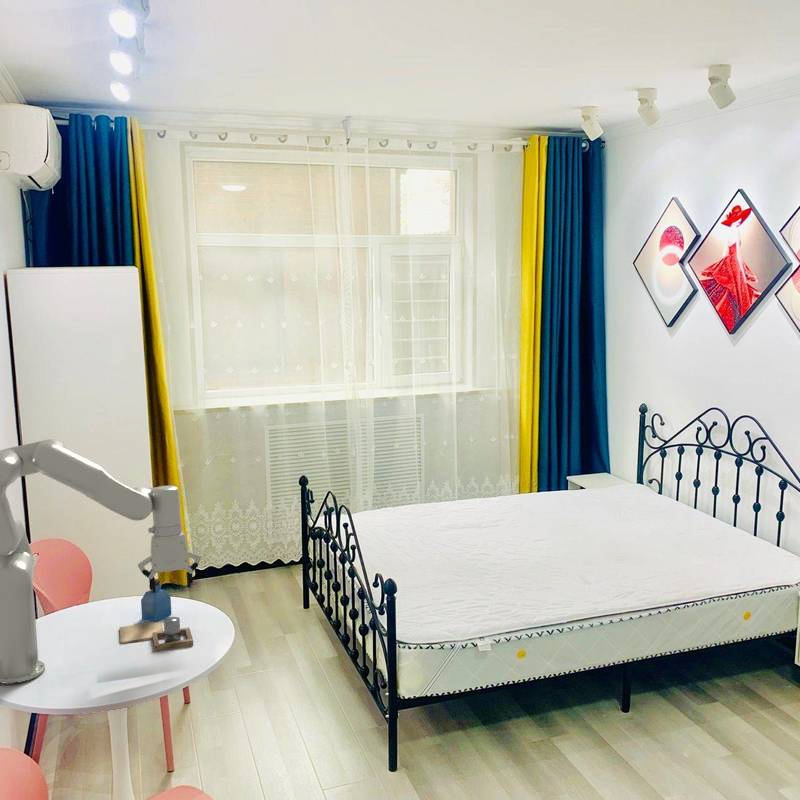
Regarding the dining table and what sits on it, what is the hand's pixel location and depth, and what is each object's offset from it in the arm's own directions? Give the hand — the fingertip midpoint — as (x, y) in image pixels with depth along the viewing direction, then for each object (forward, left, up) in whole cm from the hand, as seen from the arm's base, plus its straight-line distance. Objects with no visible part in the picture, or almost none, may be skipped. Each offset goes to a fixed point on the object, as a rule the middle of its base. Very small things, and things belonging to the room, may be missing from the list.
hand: (171, 588), depth 229 cm
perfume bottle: (-3, +21, -16) cm, 26 cm away
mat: (-8, +10, -16) cm, 20 cm away
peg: (0, 0, -16) cm, 16 cm away
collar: (0, 0, -16) cm, 16 cm away
